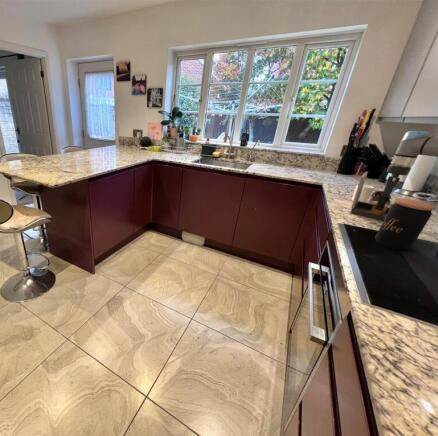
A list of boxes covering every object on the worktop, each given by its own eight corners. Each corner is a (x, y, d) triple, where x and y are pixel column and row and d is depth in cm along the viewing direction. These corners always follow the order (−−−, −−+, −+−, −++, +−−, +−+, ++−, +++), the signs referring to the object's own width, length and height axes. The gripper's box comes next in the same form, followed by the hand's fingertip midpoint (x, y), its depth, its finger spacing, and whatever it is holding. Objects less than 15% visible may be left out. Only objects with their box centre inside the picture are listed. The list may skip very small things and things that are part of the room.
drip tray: (391, 214, 124) (394, 208, 122) (389, 224, 111) (392, 218, 110) (355, 205, 134) (357, 200, 132) (349, 214, 121) (351, 208, 120)
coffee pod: (386, 217, 118) (391, 208, 115) (372, 215, 119) (377, 206, 117) (379, 213, 123) (384, 204, 120) (366, 211, 124) (370, 202, 122)
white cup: (369, 204, 136) (377, 188, 132) (353, 202, 138) (360, 186, 134) (362, 200, 143) (370, 185, 139) (347, 198, 145) (354, 183, 141)
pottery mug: (394, 207, 136) (395, 195, 132) (373, 211, 140) (373, 200, 136) (383, 195, 145) (383, 185, 141) (364, 200, 149) (364, 189, 145)
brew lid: (367, 171, 126) (365, 171, 126) (363, 176, 113) (361, 176, 114) (358, 200, 132) (356, 199, 132) (353, 208, 119) (351, 207, 120)
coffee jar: (368, 236, 99) (388, 196, 92) (398, 240, 97) (421, 200, 89) (383, 248, 90) (406, 205, 82) (417, 253, 87) (444, 210, 80)
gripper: (391, 161, 120) (372, 199, 129) (388, 167, 105) (367, 210, 114) (411, 164, 116) (390, 203, 125) (411, 170, 100) (387, 215, 109)
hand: (379, 206), depth 119 cm, fingers open, 13 cm apart
